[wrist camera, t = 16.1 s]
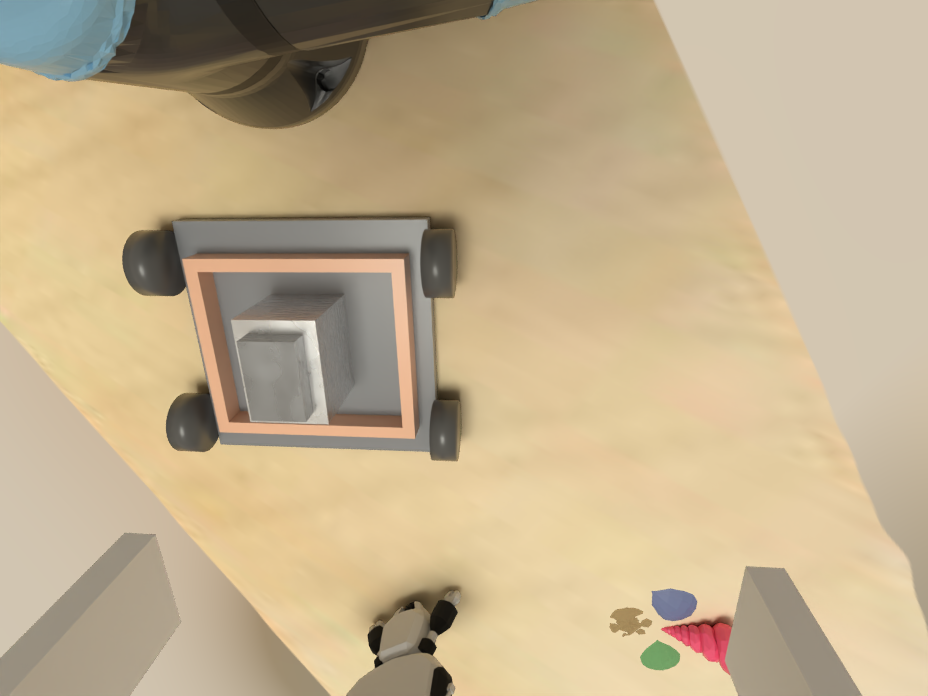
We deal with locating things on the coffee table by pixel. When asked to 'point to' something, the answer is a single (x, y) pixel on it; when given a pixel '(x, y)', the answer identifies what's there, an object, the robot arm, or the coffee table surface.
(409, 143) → the coffee table surface
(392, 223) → the chassis
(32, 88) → the coffee table surface
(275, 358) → the block
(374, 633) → the robot toy
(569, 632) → the coffee table surface
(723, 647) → the toy pieces
